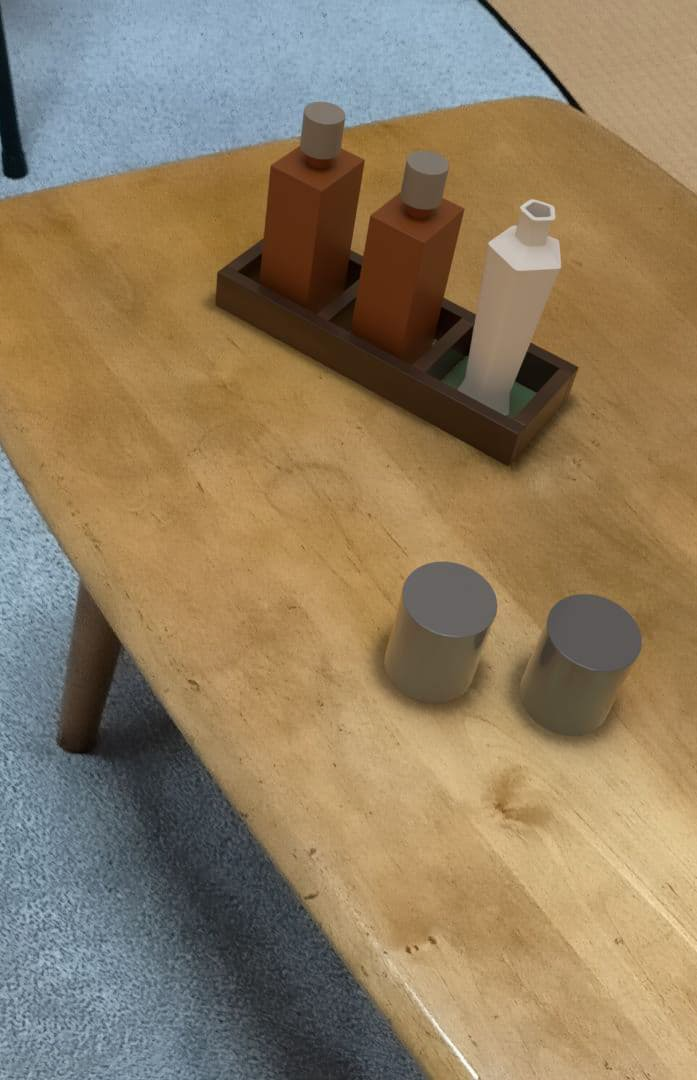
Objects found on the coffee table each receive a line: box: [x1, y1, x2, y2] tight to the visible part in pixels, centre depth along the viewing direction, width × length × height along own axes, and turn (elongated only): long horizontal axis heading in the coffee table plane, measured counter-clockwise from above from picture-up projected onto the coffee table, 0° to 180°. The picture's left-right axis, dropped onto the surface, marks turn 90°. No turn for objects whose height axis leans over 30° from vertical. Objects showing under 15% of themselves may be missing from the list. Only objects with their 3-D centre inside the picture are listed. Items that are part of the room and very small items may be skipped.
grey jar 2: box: [519, 593, 643, 737], centre depth 66 cm, size 5×5×7 cm
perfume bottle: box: [458, 198, 562, 415], centre depth 78 cm, size 5×4×15 cm
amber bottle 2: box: [349, 149, 465, 365], centre depth 80 cm, size 4×5×15 cm
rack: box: [214, 237, 580, 467], centre depth 85 cm, size 9×24×4 cm, turn 56°
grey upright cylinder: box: [383, 561, 498, 705], centre depth 66 cm, size 5×5×7 cm
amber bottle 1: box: [259, 101, 366, 314], centre depth 82 cm, size 4×5×15 cm
